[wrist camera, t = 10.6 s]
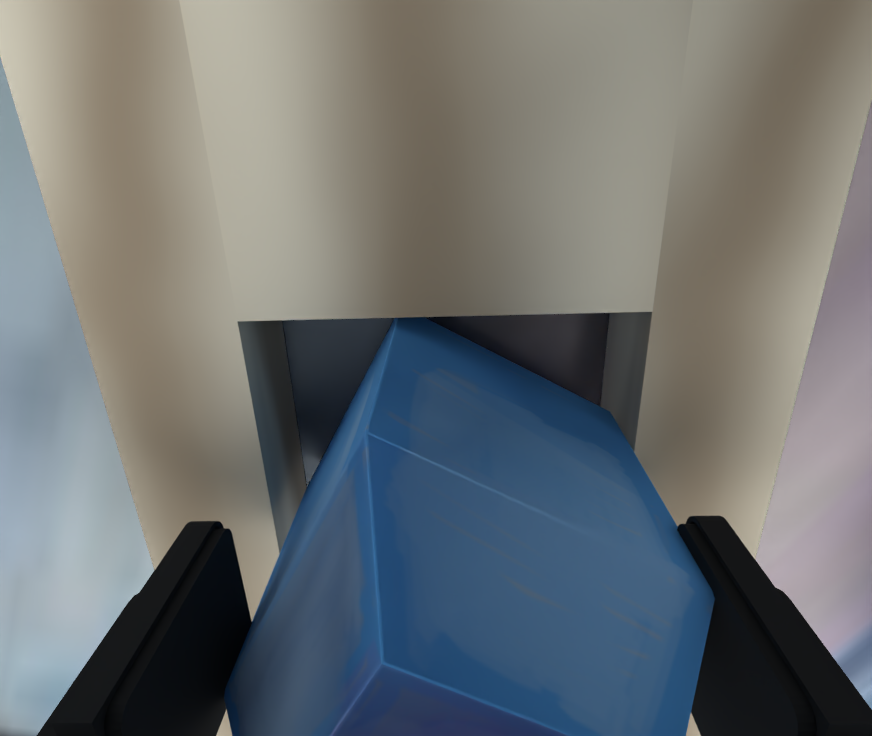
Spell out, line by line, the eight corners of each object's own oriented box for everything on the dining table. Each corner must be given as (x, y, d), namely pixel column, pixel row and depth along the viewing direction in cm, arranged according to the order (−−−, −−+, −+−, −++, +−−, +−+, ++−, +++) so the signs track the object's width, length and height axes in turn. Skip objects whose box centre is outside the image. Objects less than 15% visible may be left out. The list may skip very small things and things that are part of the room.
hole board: (805, -22, 12) (915, -71, 9) (667, 683, 20) (701, 769, 18) (81, 8, 12) (-26, -30, 9) (244, 685, 21) (214, 768, 18)
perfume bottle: (610, 411, 14) (1145, 1326, 3) (492, 569, 17) (580, 1434, 6) (401, 305, 13) (167, 1114, 2) (305, 489, 16) (-47, 1350, 5)
